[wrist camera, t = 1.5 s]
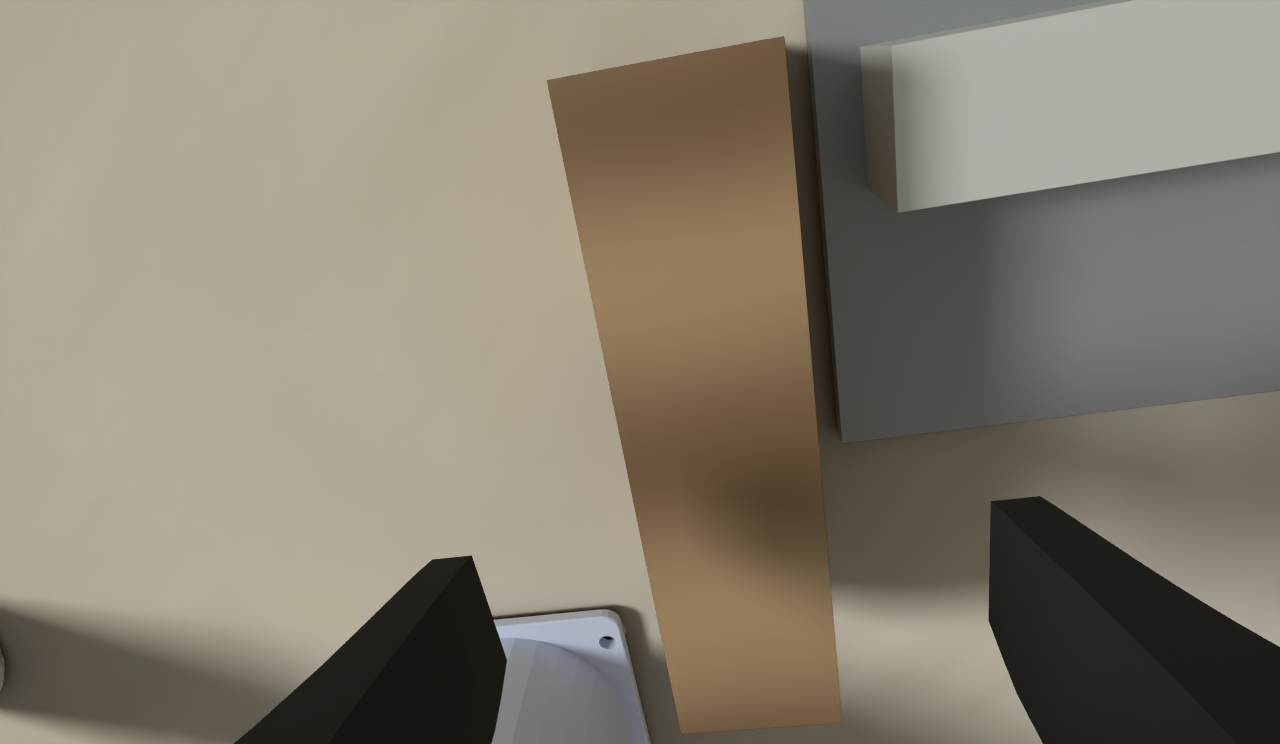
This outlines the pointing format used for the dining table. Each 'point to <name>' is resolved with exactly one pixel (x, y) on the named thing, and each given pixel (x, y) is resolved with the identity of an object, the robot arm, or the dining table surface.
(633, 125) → the walnut bar
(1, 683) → the energy drink
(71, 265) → the dining table surface
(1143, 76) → the fulcrum
